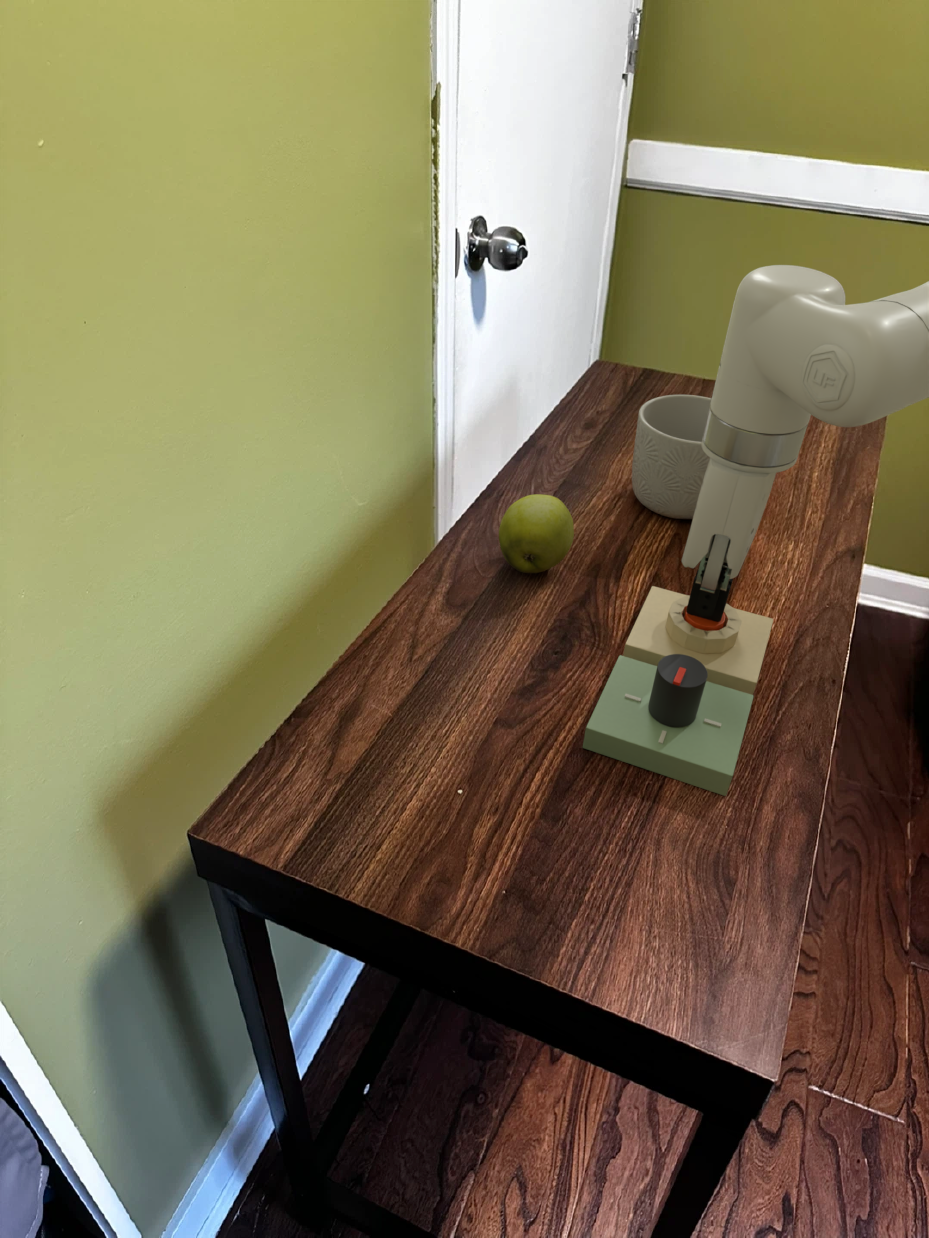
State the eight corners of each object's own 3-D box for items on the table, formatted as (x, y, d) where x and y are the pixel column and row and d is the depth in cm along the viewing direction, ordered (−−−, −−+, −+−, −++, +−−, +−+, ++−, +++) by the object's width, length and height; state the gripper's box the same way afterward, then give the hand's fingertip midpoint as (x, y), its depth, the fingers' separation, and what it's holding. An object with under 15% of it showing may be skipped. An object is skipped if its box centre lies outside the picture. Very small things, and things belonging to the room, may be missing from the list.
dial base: (747, 715, 75) (754, 693, 74) (725, 796, 68) (733, 774, 67) (615, 674, 79) (619, 653, 77) (582, 748, 72) (586, 726, 70)
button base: (768, 636, 84) (778, 603, 81) (751, 700, 77) (762, 668, 74) (648, 602, 88) (655, 571, 85) (621, 661, 80) (628, 629, 78)
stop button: (724, 622, 81) (728, 608, 80) (717, 645, 79) (721, 630, 78) (687, 612, 82) (690, 598, 81) (678, 634, 80) (682, 619, 79)
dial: (655, 688, 74) (665, 645, 71) (701, 703, 73) (713, 660, 70) (642, 717, 71) (652, 674, 68) (689, 734, 70) (701, 690, 67)
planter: (746, 525, 99) (770, 440, 93) (644, 533, 98) (661, 447, 91) (704, 472, 109) (723, 391, 102) (611, 478, 107) (624, 396, 100)
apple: (575, 547, 95) (583, 484, 90) (562, 595, 88) (570, 530, 83) (506, 536, 96) (510, 473, 91) (488, 582, 89) (492, 517, 84)
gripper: (723, 389, 74) (682, 560, 86) (685, 465, 64) (644, 649, 75) (812, 407, 72) (758, 580, 84) (788, 489, 62) (729, 675, 73)
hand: (704, 613), depth 80 cm, fingers closed
